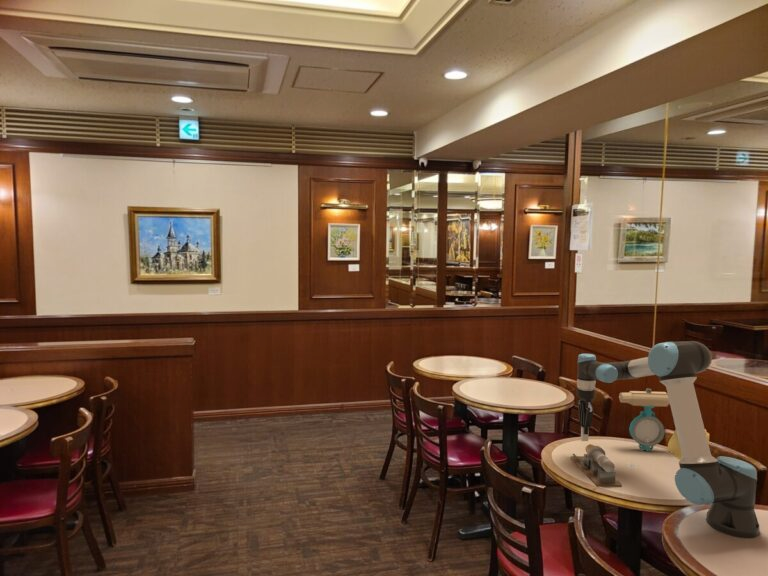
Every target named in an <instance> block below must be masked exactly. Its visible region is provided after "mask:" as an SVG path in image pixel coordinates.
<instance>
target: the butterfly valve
mask: <svg viewBox="0 0 768 576" xmlns="http://www.w3.org/2000/svg"><path fill="white" fill-rule="evenodd" d="M652 390H653V389H652V388H648V387H647V388H646V389H645V390H644V391H642V390H641V391H640V390H629V392H620V393H618V399H619V402H620V403H624V404H625V403H626V404H629V405H631V406H636V407H639V406H640V407H643V408H644V409H643V410H642V411H639V414H638V415H637V416H636V417H634V418H633V420H632V421H631V422H630V424H629V428H628V430H629V434H630V436H631V438H632V439H633V440H634V441H635V442H636V443H637V444H638V447H639V449H640V450H643V451H644V450H646V451H645V452H649V451H650V450H651V451H652V450H653V449H654V446H656V445H658V444H659V443H661V441H662V440H663V439H664V436H665V433H666V430H665V426H664V424H663V423H662V422H661V420H660V419H659V418H658V417H656V413H655V412H654V411H652V409H654V408H655V407H668V406H670V402H669V398H668V393H667V392H666V391H652Z"/></svg>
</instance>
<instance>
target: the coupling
mask: <svg viewBox="0 0 768 576" xmlns="http://www.w3.org/2000/svg"><path fill="white" fill-rule="evenodd" d="M595 446H596V445H594V444H590V443H589V444H587V445H586V447H585V452H586V453H584V454H583V456H584V465H585V466H586V467H587V468H588V469H590V467H591V461H590V460H589V458H588V452H589V450H590V449H591V448H592V447H595ZM597 446H598V447H600V446H599V445H597Z"/></svg>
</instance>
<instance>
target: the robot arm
mask: <svg viewBox="0 0 768 576" xmlns="http://www.w3.org/2000/svg"><path fill="white" fill-rule="evenodd" d="M712 359H713V357H712V353H711V351H710V349H709V348H708V347H707V346H706V345H705V344H704V343H702V342H700V341H694V340H688V341H665V342H660V343H657V344H655V345H654V346H652V348H651V349H650V351H649V352H648V356H645V357H640V358H637V359H631V360H627V361H613V362H612V361H611V362H601V361H597V357H596V355H595V354H594V353H593V354H592V353H581V354H578V356H577V371H576V372H577V374H576V375H577V379H576V387H577V388H576V396H577V398H579V400H577V410H578V423H580V441H581V442H589V428H592V422H593V414H594V411H595V407H593V405H592V400H594V399H595V398H596V390H595V389H596V383H597V382H596V380H597V381H600V382H602V383H606V384H607V383H608V384H610V383H613V382H616V381H619V380H620V381H621V380H635V379H639V378H642V377H644V378H645V377H649V376H655V375H656V376H657V377H658V379H659V383H661V384H662V385H663V386H665V388H666V391H667V392H666V393H667V394H668V398H669V402H670V404H669V406H670V409H671V415H672V418H673V423H674V426H675V430H676V432H677V436H678V440H679V444H680V449H681V453H682V458H681V459H680V460H679V461H678V465H679V469H678V470H677V471H676V472H675V475H674V482H675V483H674V484H675V486H676V488H677V491H678V492H679V494H680V495H681V496H682V497H683V498H684V499H685V500H686V501H688V502H689V503H691V504H693V505H698V506H700V505H705V506H706V505H708V506H709V505H710V507H709V509H708V511H706V512H707V513H706V519H705V520H707V521H706V523H707V522H708V523H707V524H708V525H709V526H710V527H712V528H713V529H715V530H716V531H718V532H721V533H723V534H726V535H728V536H732V537H736V538H742V539H752V538H757V537H759V535H760V523H759V521H758V516H757V514H756V511H755V505H756V491H757V481H758V477H757V476H758V474H757V473H758V470H757V468H756V467H755V466H754V465H752V464H751V463H750V462H749V463H748V462H747V461H744V460H741V459H737V458H734V457H730V456H721V455H720V456H717V457H714V456H713V455H712V453H711V449H710V446H709V443H708V441H707V437H706V433H705V429H706V428H705V425H704V421H703V418H702V413H701V410H700V405H699V400H698V397H697V393H696V389H695V384H694V383H695V381H696V380H697V379H698V377H697V374H700V373H703V372H705V371H706V370H707V369H708V368H709V367H710V366H711V364H712Z"/></svg>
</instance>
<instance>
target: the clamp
mask: <svg viewBox="0 0 768 576" xmlns="http://www.w3.org/2000/svg"><path fill="white" fill-rule="evenodd" d="M704 429H705V433H706V437H707V441H708V444H709V443H710V432H707V429H706V428H704ZM668 450H669V451H670V452H669V451H668ZM667 451H668V452H669V453H671V452H672V453H671V454H672V455H673V454H674V455H675V456H674V457H675V458H677V459H678V460H679V461H680V459H681V458H682V453H681V449H680V444H679V440H678V436H677V432H676V429H675V430H674V432H673V434H672V436H671V437H670V439H669V441H668V443H667Z"/></svg>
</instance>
